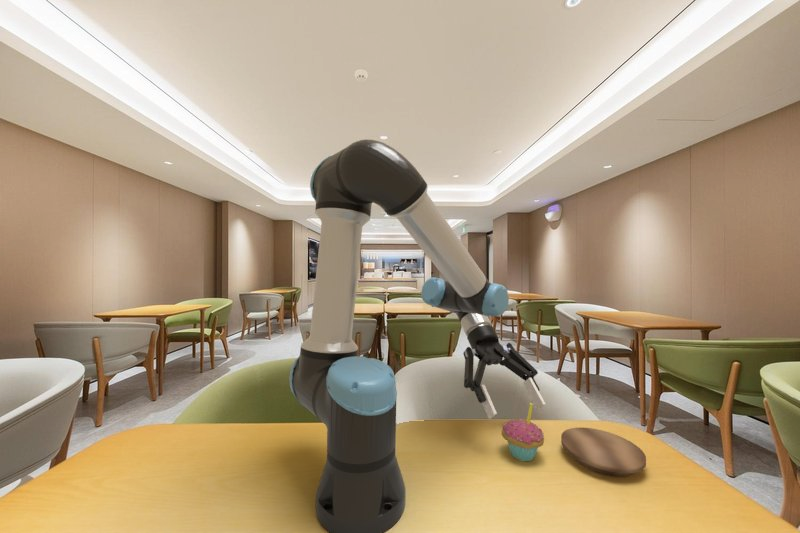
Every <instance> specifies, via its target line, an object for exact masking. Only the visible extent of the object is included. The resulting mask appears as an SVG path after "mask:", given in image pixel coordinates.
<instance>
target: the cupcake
mask: <svg viewBox="0 0 800 533" xmlns="http://www.w3.org/2000/svg"><path fill="white" fill-rule="evenodd" d="M533 406H534V403H533V400H532V399H531V402H530V403H529V405H528V412H527V418H526V419H523V418H518V419H511V420H509V421H506V422H505V423H504V424H503V425H502V428H501V434H500V435H501V436H502V438H503V439H504V440H506V442H507V444H508V447H509V451H510V455H511V456H512V457H514V458H515V459H517V460H519V461H522V462H531V461H533V460H534V459H535V457H536V454H537V451H538V448H540V447H542V446H543V445H544V442H545V437H544V432H543V430H542V429H541V428H540V427H539V426H538V425H537V424H535V423H533V422H531V419H532V418H531V417H532V412H533V408H534V407H533Z"/></svg>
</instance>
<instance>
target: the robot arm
mask: <svg viewBox="0 0 800 533" xmlns="http://www.w3.org/2000/svg"><path fill="white" fill-rule="evenodd" d="M428 188H429V186H428V184H427V181H425V179H424V178H423V176H422V174H420V172H419V171H418V170H417V168H416V167H415V166H414V165H413V164H412V163H411V162H410V161H409V160H408V159H407V158H406V157H405V156H404V154H402V153H401V152H399V151H397V149H395V148H394V147H392V146H390V145H389V144H386V143H384V142H383V141H379V140H375V139H360V140H356V141H354V142H352V143H351V144H348V146H346V147H345V148H343V149H341V150H340V151H337V152H336V153H334V154H333V155H329V156H328V157H326V158H325V159H323V160H322V161H321V162H320V163H319V164H318V165H317V166H316V167H315V168H314V170H313V172H312V174H311V177H310V182H309V189H310V194H311V196H312V199H314V201H315V211H314V213H315V215H316V216H317V217H318V218H319V220H320V221H321V224H320V234H319V245H318V252H317V253H318V254H317V264H316V271H315V273H316V274H315V284H314V290H313V291H314V292H313V303H312V312H311V320H310V321H311V322H310V332H309V336H308V338H306V340H304V341H303V342H302V343H301V345H300V351H299V352H300V353H299V356H298V357H297V358H296V359H295V360H294V362H293V363H292V365H291V368H290V370H289V371H290V372H289V378H288V379H289V387H290V390H291V393H292V394H293V396H294V397H295V399H296V400H297V402H298V403H299V404H300V405H301V406H302V407H303V408H305V409H306V410H308V411H309V412H310V413H312V415H314V416H315V417H316V418H317V419H318V420H319V421H320V422H322V423H323V424H324V425H325V426H326V429H327V430H326V435H327V436H326V462H325V464H324V467H323V470H322V475H321V477H320V480H319V483H318V487H317V489H316V495H315V513H316V517H317V520H318V522H319V523H320V525H321V526H322V527H323V528H324V529H325V530H326V531H328V532H330V533H383V532H384V533H385V532H386V531H387V530H388V529H391V528H392V527H393V526H394V525H395V524H396V523H397V522H398V521H399V520H400V518H401V517H402V515H403V513H404V511H405V506H406V486H405V481H404V477H403V475H402V471H401V469H400V466H399V462H398V459H397V455H396V438H397V437H396V435H397V434H396V432H397V430H396V429H397V400H398V399H397V397H398V390H397V381H396V376H395V371H393V369H392V368H391V366H390V365H389V364H387V363H386V362H384V361H382V360H379V359H378V358H373V357H370V358H368V357H367V356H361V355H360V356H358V354H359V346H358V345H357V343H355V341H354V340H353V330H354V329H353V326H354V319H355V318H354V317H355V307H356V297H357V288H358V287H357V285H358V277H359V276H358V275H359V266H360V253H361V246H362V245H361V242H362V233H363V226H365V224H367V223H368V222H370V220H371V216H372V215H371V214H372V204H373V203H374V204H375V205H377V206H379V207H380V209H382V210H383V212H385V213H386V215H387V216H388V217H391V218H392V217H394V218H396V219H397V220H398V221H399V223H400V224H401V226H403V227H404V229H405V230H406V231H407V233H408V234H409V235H410V236H411V238H412V239H413V241H414V242H416V244H417V245H418V246H419V248H420V249H421V250H422V251H423V253H424V254H425V255H426V256H427V258H428V259H429V260H430V261H431V262H432V263H433V265H434V266H435V268H437V270H438V271H439V272H440V273H441V275H442V276H443V278H444V279H445V280H444V279H443V278H438V277H430V278H428V279H427V280H425V282H424V283H423V285H422V286H421V287H422V288H421V291H420V295H421V300H422V301H423V302H424V304H426V305H428V306H431V307H433V308H436V309H437V308H438V309H441V310H444V311H447V312H449V313H454V314H456V316H457V318H458V320H459V322H460V323H459V324H460V325H461V327H462V329H463V332H464V334H465V336H466V337H467V341H468V344H469V345H470V346H467V347H466V349H465V350H464V351H463V353H462V354H463V356H464V357H463V358H464V377H463V387H464V388H465V389H470V391H471V392H474V394H475V395H476V396H475V397H476V398H477V401H478V402H479V403H480V404H482V405H483V409H484V411H485V414H486V416H487V419H492V418H494V416H496V415H497V414H498V413H497V410H496V409H495V406H494V403H493V401H492V399H491V396H490V393H489V391H488V390H487V387H486V385H485V384H481V383H482V381H483V378H484V377H483V376H484V373H485V370H486V366H492V365H495V366H496V365H500V366H501V367H502V366H503V367H505V368H507V369H508V370H509V371H511V372H512V373H514V374H515V375H517V376H518V377H520V379H522V380H523V381H524V382H522V383H523V385H524V388H525V389H526V391H527V393H528V395H529V397H530V399H531V401H532V400H533V402H532V404H533V406H534V407H535V408H536V409H537V410H539V409H541V408H543V407H545V405H546V402H545V400H544V398H543V396H542V394H541V393H540V387H539V385H538V384H537V382H536V380H535V376H537V375H538V374H539V372H538V370H537V369H536V368H535V367H534V366H533V365H532V364H531V363H529V361H527V360H526V358H524V357H523V356H522V355H521V354H520V353H519V352H518V351H517V350H516V349H515V347H514V346H513V345H512V343H510V342H508V343H507V344H506V345H502V344H501V343H500V340H499V336H498V334H497V332H496V329H495V328H494V326H493V324H492V322H491V321H490V319H489V317H490V316H491V317H500V316H502V315H503V314H504V313H505V312H506V311H507V309H508V306H509V299H510V298H509V292H508V290H507V288H506V287H505V285H502V284H500V283H495V282H492V283H491V282H490V281H489V279H488V278H487V277H486V275H485V274H484V272H483V270H482V269H480V267H479V265H478V264H477V263H476V261H475V260H474V258H473V257H472V256H471V254H470V252H469V251H468V250H467V248H466V246H465V245H464V244H463V243H462V241H461V239H460V238H459V237H458V236H457V234H456V232H455V230H453V228H452V227H451V225H450V224H449V222H448V221H447V220H446V218H445V217H444V215H443V214H442V212H441V211H440V209H439V208H438V207H437V205H436V204H435V202H434V201H433V199H431V197H430V196H429V194H428ZM474 356H475V357H476V358H477V359H479V360H478V363H477V366H476V367H477V368H476V371H475V374H474V359H475V358H474Z"/></svg>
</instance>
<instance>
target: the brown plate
mask: <svg viewBox="0 0 800 533" xmlns="http://www.w3.org/2000/svg"><path fill="white" fill-rule="evenodd" d="M560 439H561V441H560V443H561V446H562V447H563V449H564V450H565V451H566V452H567V453H568V454H569V455H570V456H572V458H573V459H574V461H575V462H577V463H578V464H579V465H581V466H582V467H584V468H586V469H587V470H590V471H591V472H594V473H597V474H600V475H604V476H607V477H614V478H623V477H628V476H631V475H632V474H634V473H640V472H641V471H644V469H645V468H646V467H647V456H646V454H645V452H644V451H643V449H641V448H640V447H639V446H638V445H637V444H635V443H633V442H632V441H631V440H629V439H626V438H625V437H622V436H620V435H618V434H615V433H613V432H610V431H605V430H602V429H597V428H592V427H571V428H568V429H565V430H564V431H563V432H562V433H561V437H560Z"/></svg>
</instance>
